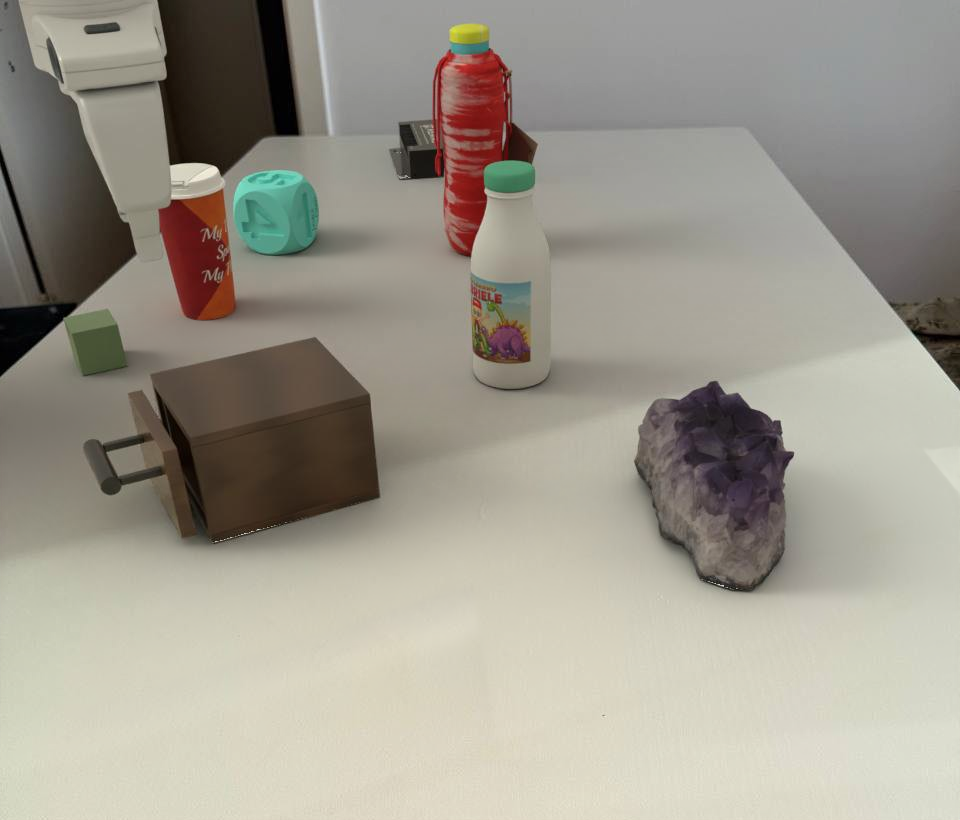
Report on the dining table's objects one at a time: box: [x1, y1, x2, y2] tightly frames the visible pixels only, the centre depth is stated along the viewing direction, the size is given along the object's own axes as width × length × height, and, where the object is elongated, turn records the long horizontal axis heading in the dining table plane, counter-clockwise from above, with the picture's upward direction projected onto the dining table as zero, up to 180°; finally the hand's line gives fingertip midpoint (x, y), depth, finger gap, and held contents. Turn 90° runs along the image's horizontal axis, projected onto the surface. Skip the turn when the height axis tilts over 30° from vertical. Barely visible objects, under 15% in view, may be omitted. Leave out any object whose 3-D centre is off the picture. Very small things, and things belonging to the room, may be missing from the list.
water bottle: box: [432, 23, 539, 257], centre depth 134 cm, size 12×8×25 cm, turn 95°
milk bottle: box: [470, 161, 552, 390], centre depth 107 cm, size 8×8×20 cm
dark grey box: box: [388, 118, 444, 179], centre depth 164 cm, size 20×14×17 cm
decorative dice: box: [232, 169, 320, 256], centre depth 142 cm, size 8×8×8 cm
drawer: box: [82, 389, 205, 539], centre depth 93 cm, size 18×11×8 cm, turn 117°
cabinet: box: [149, 336, 381, 543], centre depth 95 cm, size 15×13×10 cm
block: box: [62, 308, 128, 377], centre depth 117 cm, size 5×5×5 cm
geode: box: [633, 380, 795, 591], centre depth 89 cm, size 20×12×10 cm, turn 6°
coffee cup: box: [158, 162, 236, 321], centre depth 124 cm, size 8×8×15 cm
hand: (141, 238), depth 85 cm, fingers open, 8 cm apart
